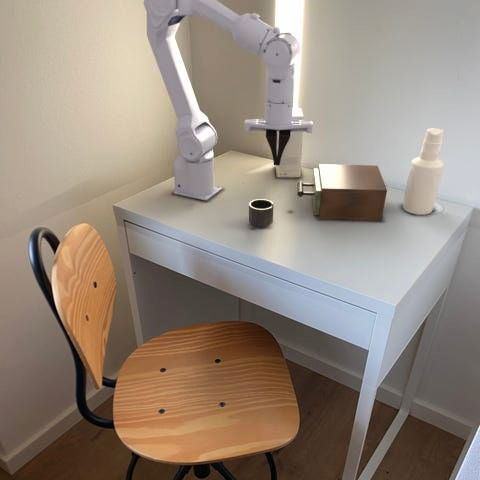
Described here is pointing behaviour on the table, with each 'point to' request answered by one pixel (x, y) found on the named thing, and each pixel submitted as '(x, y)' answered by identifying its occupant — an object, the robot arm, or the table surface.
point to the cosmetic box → (291, 151)
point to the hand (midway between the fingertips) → (276, 163)
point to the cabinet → (351, 192)
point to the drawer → (315, 190)
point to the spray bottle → (425, 175)
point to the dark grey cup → (261, 213)
